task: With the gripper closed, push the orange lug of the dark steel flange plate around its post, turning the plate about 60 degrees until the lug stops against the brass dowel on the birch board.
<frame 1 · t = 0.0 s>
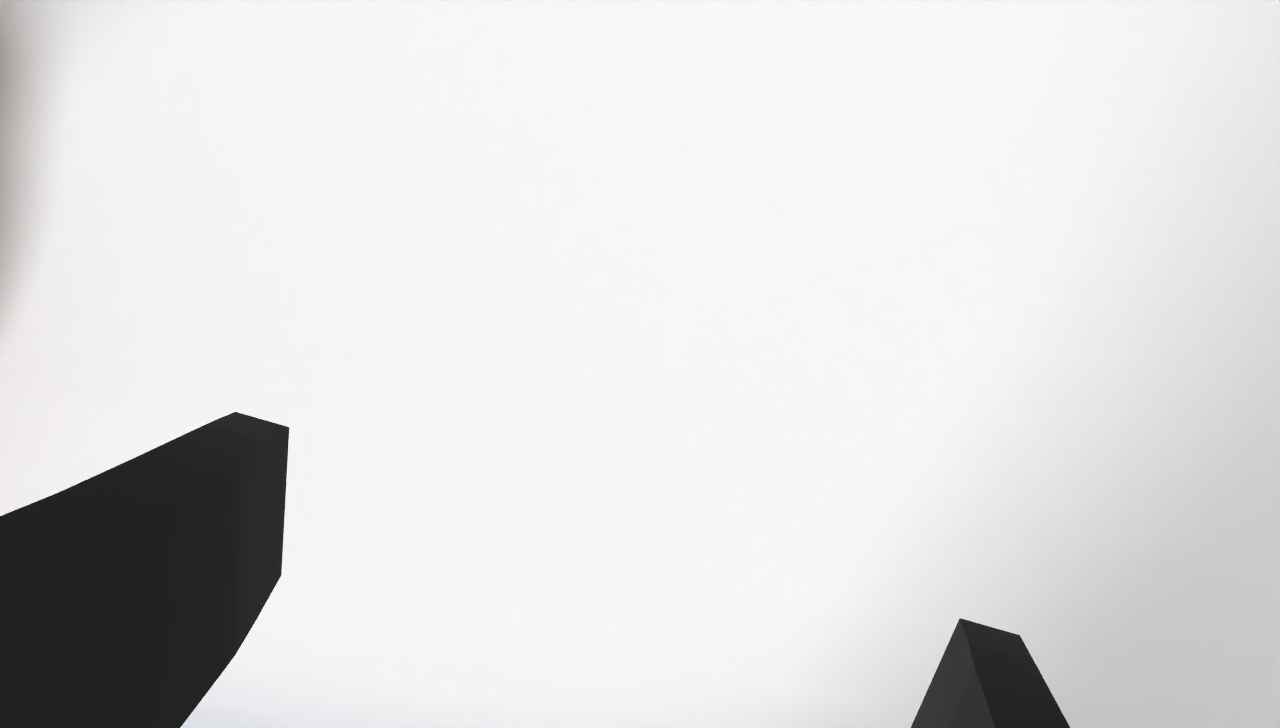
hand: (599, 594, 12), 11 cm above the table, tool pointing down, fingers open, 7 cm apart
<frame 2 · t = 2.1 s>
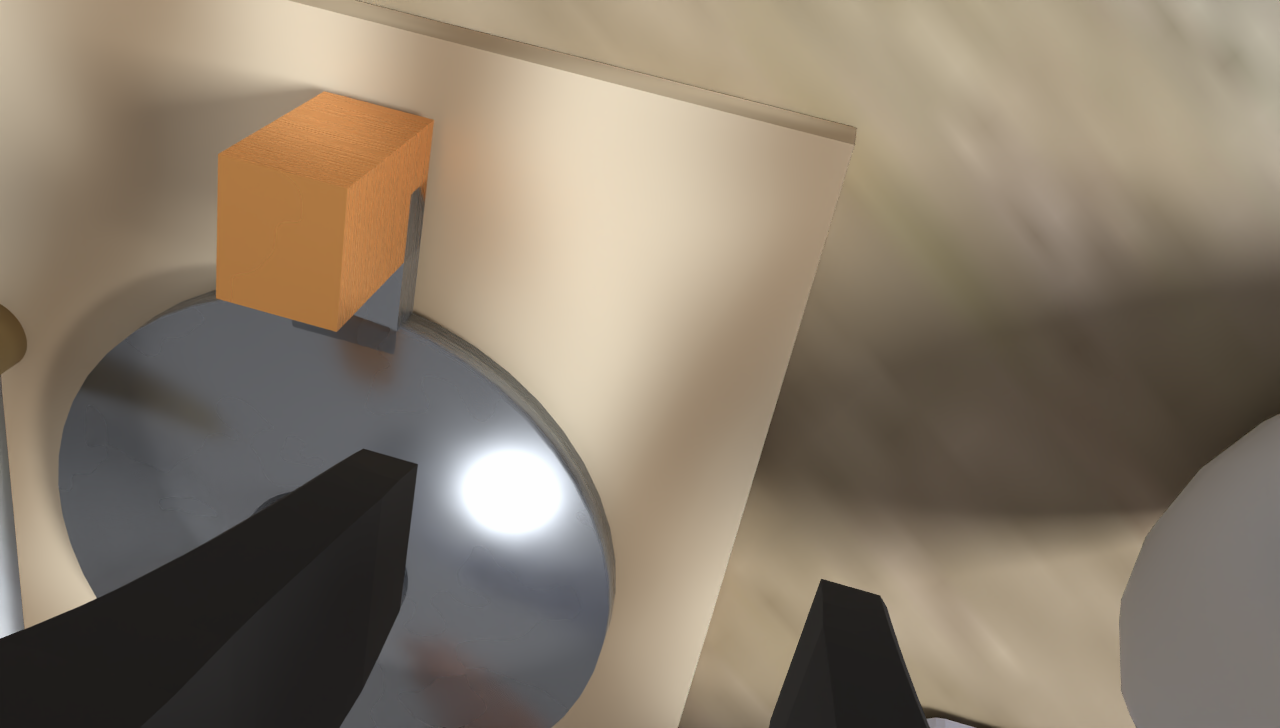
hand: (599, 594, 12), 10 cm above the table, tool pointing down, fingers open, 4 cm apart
flange plate: (308, 522, 22), point 3 cm above the table, hinge at 0.0°
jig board: (365, 506, 26), on the table
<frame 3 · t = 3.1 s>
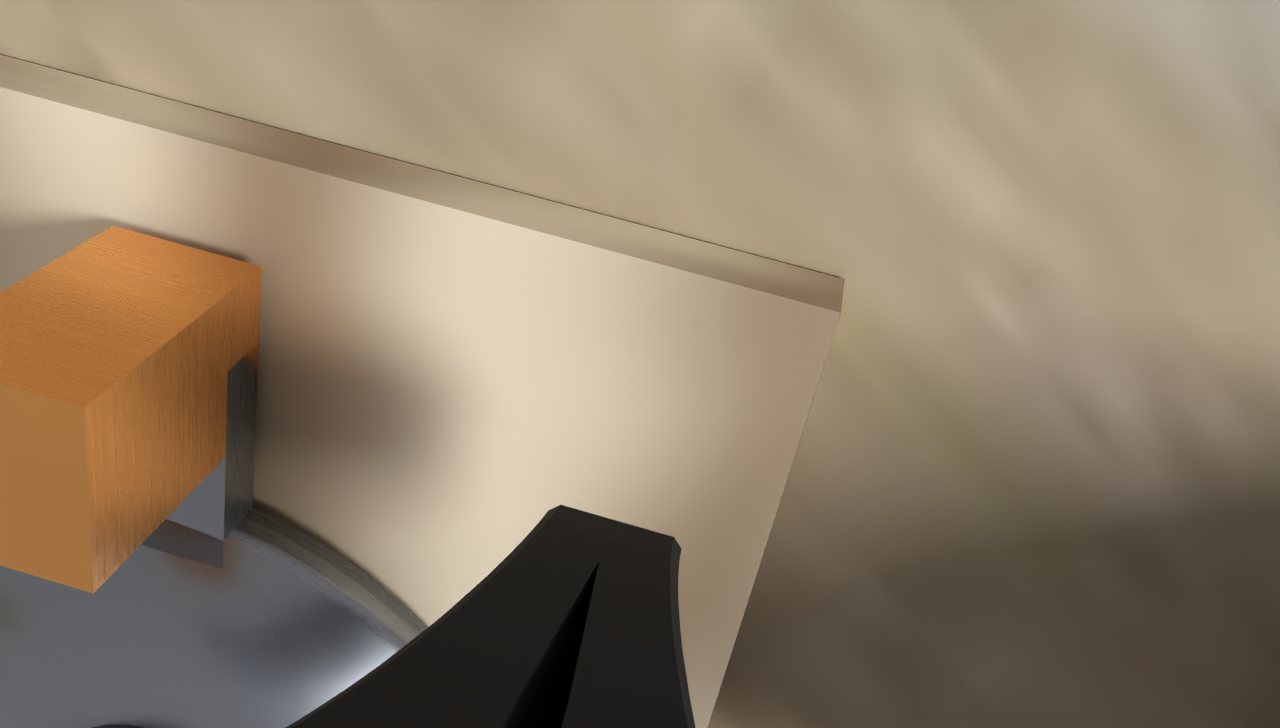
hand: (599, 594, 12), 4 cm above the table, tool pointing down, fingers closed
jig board: (225, 715, 20), on the table
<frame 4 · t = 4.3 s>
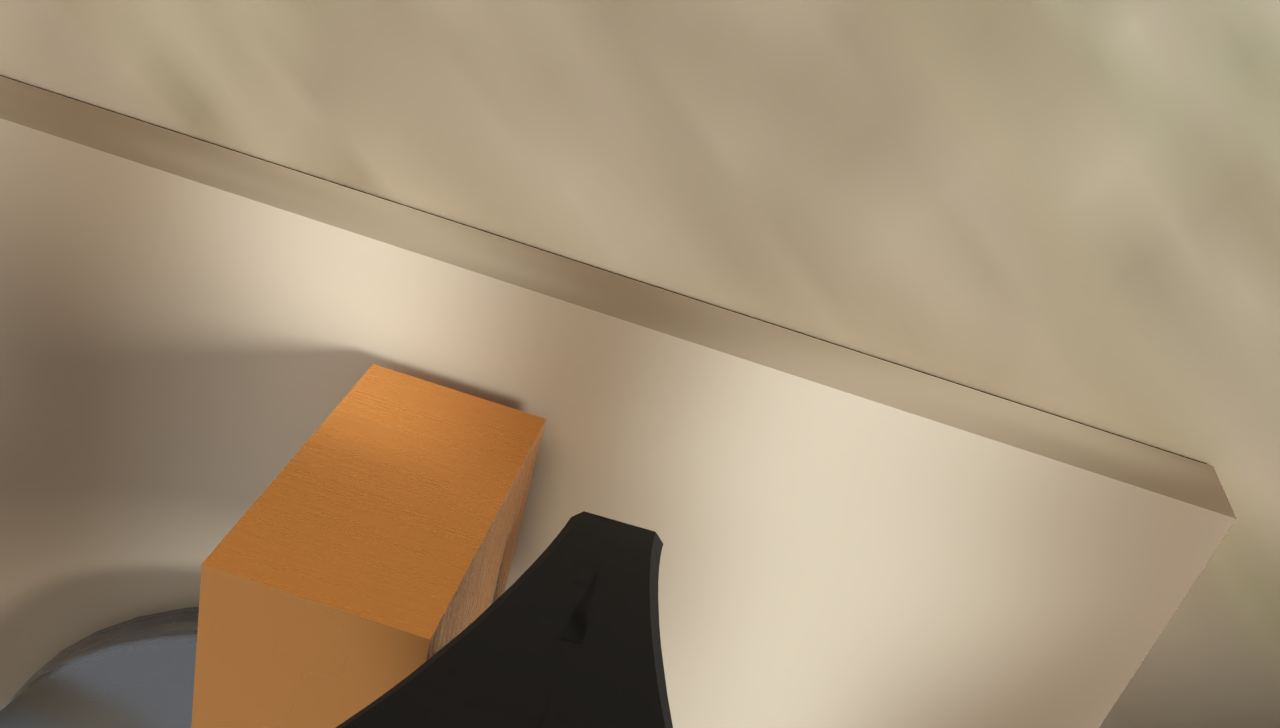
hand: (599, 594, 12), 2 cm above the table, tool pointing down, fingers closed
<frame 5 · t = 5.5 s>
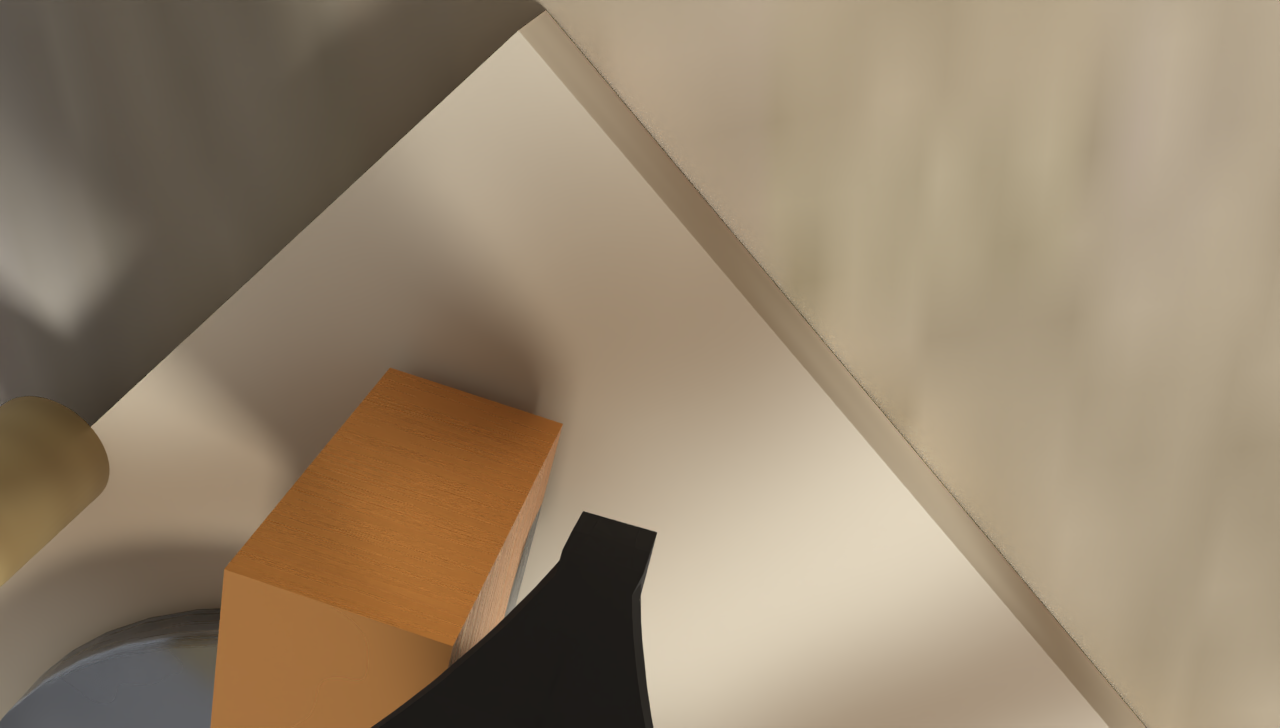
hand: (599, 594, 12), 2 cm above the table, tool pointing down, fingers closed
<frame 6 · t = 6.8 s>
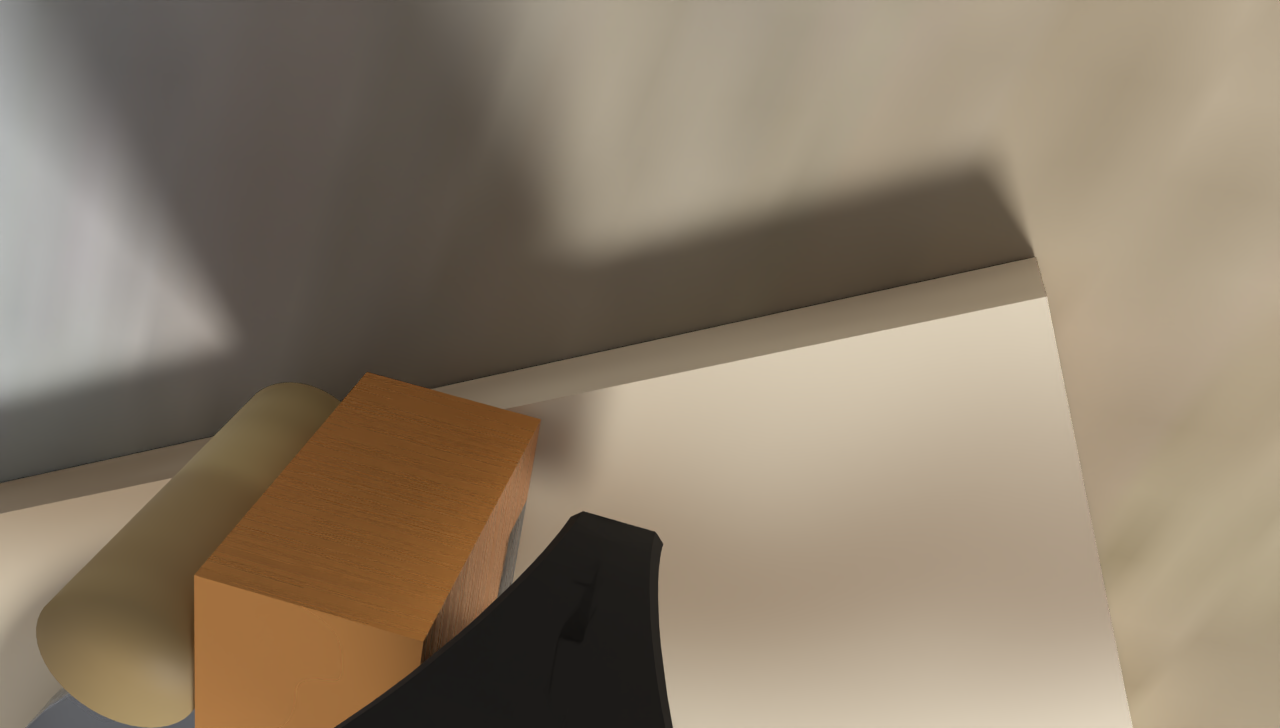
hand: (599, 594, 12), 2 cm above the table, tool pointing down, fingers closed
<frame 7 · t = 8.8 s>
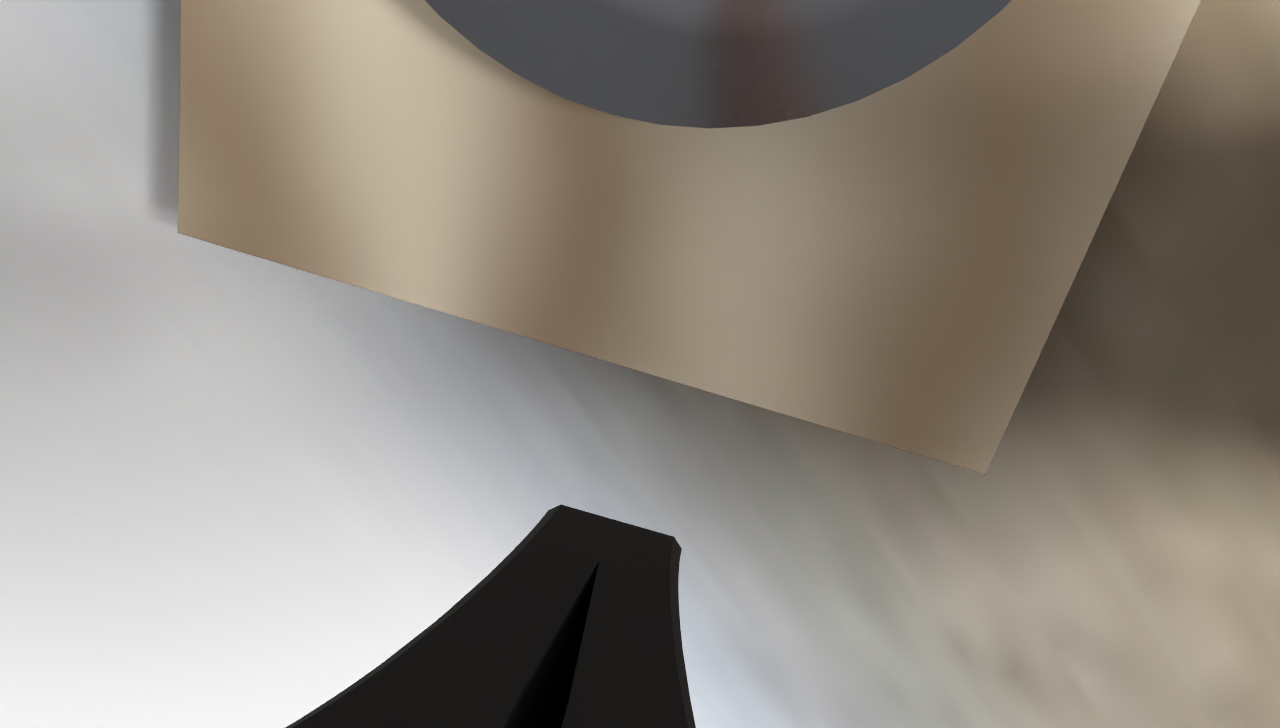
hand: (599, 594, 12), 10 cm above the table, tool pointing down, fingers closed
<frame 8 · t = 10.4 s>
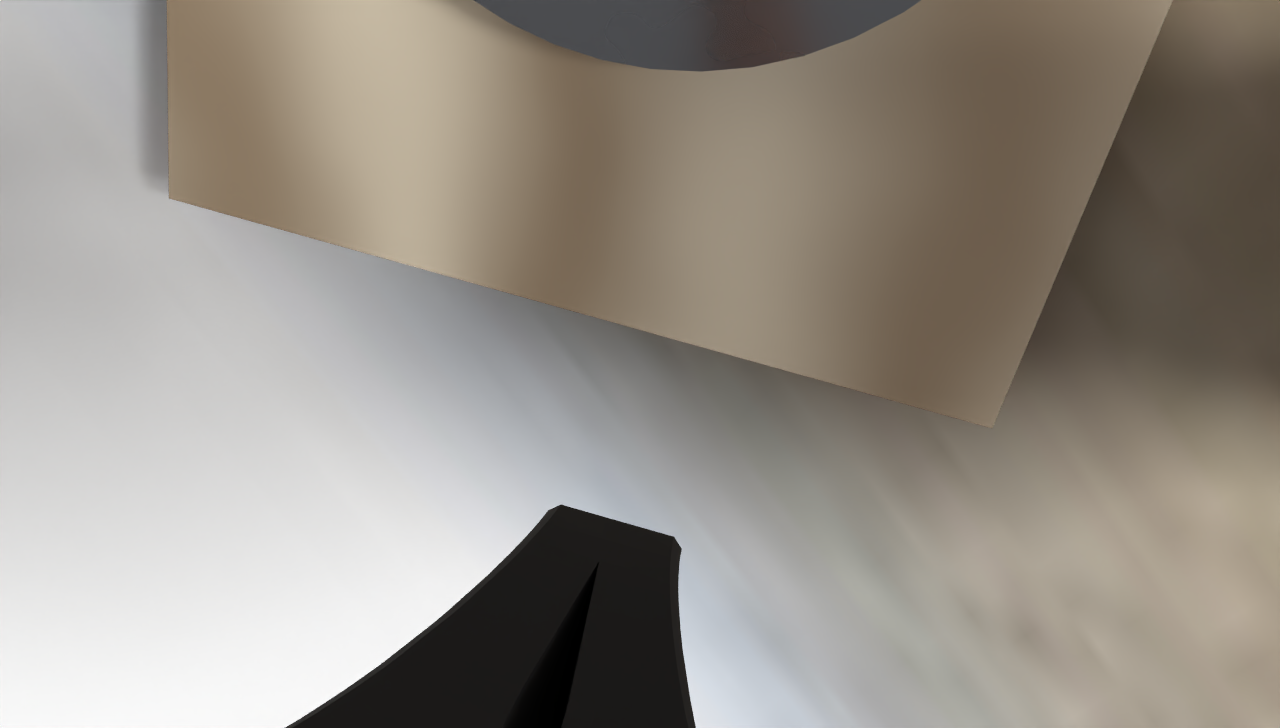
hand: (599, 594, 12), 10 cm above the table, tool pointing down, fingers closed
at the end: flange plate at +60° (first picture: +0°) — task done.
